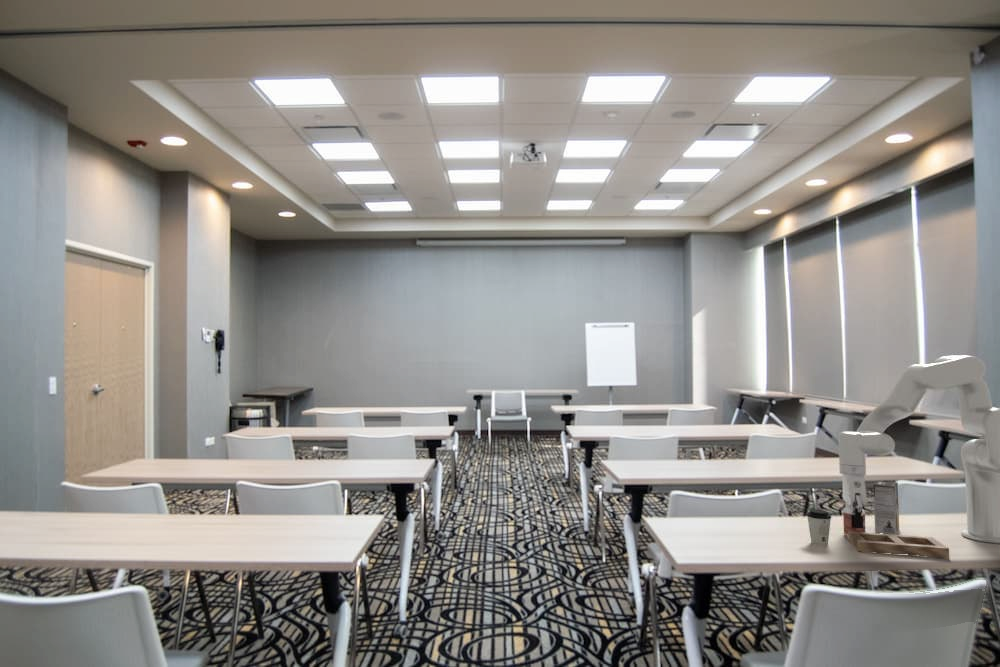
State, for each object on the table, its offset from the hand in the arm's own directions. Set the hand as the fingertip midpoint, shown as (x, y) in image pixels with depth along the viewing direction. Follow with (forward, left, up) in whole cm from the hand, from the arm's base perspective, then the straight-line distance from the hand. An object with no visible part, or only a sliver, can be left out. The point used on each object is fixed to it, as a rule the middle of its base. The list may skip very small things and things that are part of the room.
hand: (854, 524), depth 197 cm
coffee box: (-12, -9, -4) cm, 15 cm away
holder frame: (-8, +13, -4) cm, 16 cm away
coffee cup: (+13, +13, -4) cm, 19 cm away
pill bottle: (0, 0, -4) cm, 4 cm away
